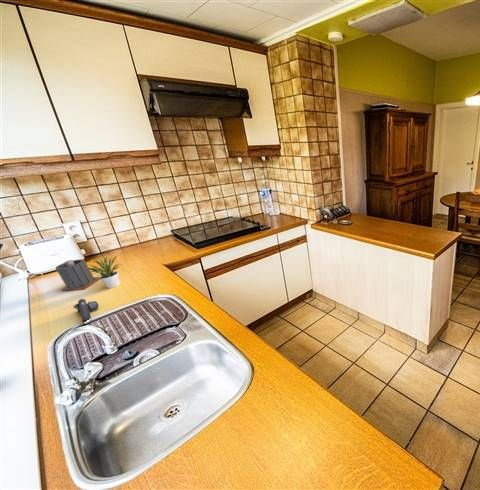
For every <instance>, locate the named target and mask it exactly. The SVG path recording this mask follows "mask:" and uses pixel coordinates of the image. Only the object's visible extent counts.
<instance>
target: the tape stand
mask: <svg viewBox="0 0 480 490" xmlns="http://www.w3.org/2000/svg"><path fill="white" fill-rule="evenodd" d="M64 263H65V264H66V266H67V267H70V266H73V265H75V263H74V262H73V259H69V260H66V261H64ZM93 277H94V276H93ZM99 277H100V276H97V277H96V276H95V277H94V281H92V282H90V283H88V284H86V285H83V286H80V287H76V288H67V287H66V286H64V287H63V288H61V291H62V292H63V293H65V292H73V291H74V292H75V291H82V290H86V289H88V288H89V287H91V286H93V285H95V284H96V283H97V282H98V281H101V280H100V279H99Z"/></svg>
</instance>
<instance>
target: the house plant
mask: <svg viewBox="0 0 480 490" xmlns="http://www.w3.org/2000/svg"><path fill="white" fill-rule="evenodd" d="M121 255H122V253H120V254H117V255H115V256H114V257H113V258H112V256H110V257H109V258H108V254H106V255H105V256H104V258H103V261H102V259H101V258H98V260H96V259H95V260H94V259H91V261H92V262H93V263H96V264H97V265H98V266H100V267H98V266H96V265H93V264H88V263H86V264H85V265H87V266H88V267H86V268H88V269H90V271H91V272H90V273H92V275H94V274H97V275H96V276H95V277H99V279H100V280H99V281H101V282H102V284H103V285H104V286H105V287H106V288H107V289H114V288H117V287H119V286H120V285H121V280H120V275H119V272H118V271H115V270H117V269H119V268H120V264H119V263H118V264H115V265H114V266H113V263H114V262H115V260H116V258H117V257H119V256H121ZM112 266H113V267H112Z"/></svg>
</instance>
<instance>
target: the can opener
mask: <svg viewBox="0 0 480 490" xmlns="http://www.w3.org/2000/svg"><path fill="white" fill-rule="evenodd" d="M72 308H73V309H75V310H77V313H78V314H80V318H81V321H82V323H83V322H86V321H87V320H89V319H90V318H91V319H92V317H91V313H90V312H94V311H96V310H98V309H99V304H98V302H97V301H96V300H92V301H88V302H87V300H86V299H85V298H80V299H79V300H78V302H77V303H76V304H74V305H72Z"/></svg>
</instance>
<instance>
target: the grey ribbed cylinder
mask: <svg viewBox="0 0 480 490" xmlns="http://www.w3.org/2000/svg"><path fill="white" fill-rule="evenodd" d="M72 260H73V259H72ZM73 262H74V263H75V265H73V266H70V267H67V266H66V264H65V262H63V263H61V264H59V265H56V266H55V271H56V272H57V274H58V275H59V277H60V279H61V280H62V282H63V284H64V285H65V287H67V288H76V287H80V286H83V285H86V284H88V283H90V282H92V281H94V274H92V273H93V272H91V271H92V270H90V269H88V268H86V267H89V265H85V264H87V262H86V260H85V259H83V258H82V259H81V258H80V259H74V260H73ZM90 272H91V273H90Z"/></svg>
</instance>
